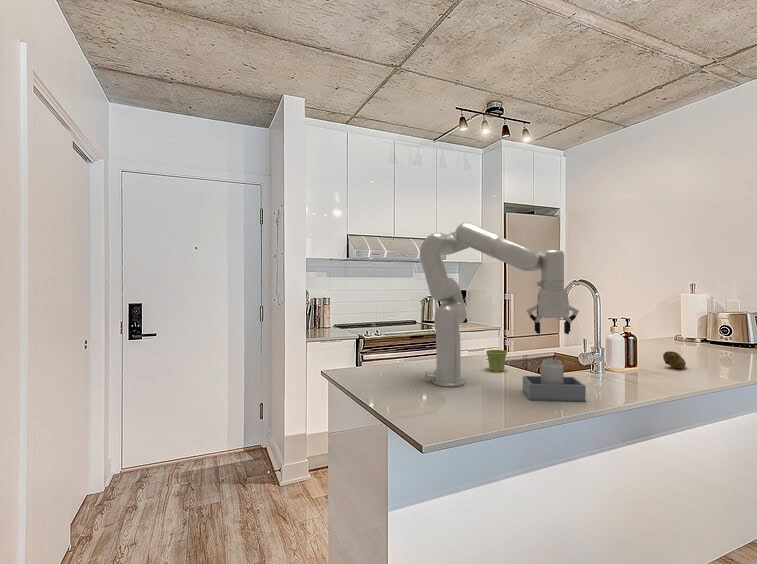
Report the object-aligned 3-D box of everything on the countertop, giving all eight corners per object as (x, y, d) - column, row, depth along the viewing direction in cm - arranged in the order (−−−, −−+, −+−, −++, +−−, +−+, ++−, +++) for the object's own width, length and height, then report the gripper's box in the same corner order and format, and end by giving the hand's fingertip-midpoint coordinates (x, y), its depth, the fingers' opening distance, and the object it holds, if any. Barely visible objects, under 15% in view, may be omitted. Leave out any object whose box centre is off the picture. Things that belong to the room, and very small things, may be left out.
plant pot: (485, 372, 184) (485, 352, 183) (486, 367, 193) (486, 349, 192) (507, 373, 181) (507, 353, 181) (507, 369, 190) (507, 350, 190)
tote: (530, 400, 143) (530, 384, 143) (522, 390, 155) (522, 375, 155) (585, 401, 141) (585, 385, 141) (573, 391, 153) (573, 376, 153)
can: (565, 397, 144) (565, 363, 143) (542, 396, 145) (542, 362, 145) (560, 391, 151) (560, 358, 151) (539, 390, 153) (539, 358, 152)
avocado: (694, 369, 186) (695, 351, 186) (673, 371, 182) (673, 353, 182) (676, 365, 194) (676, 348, 194) (655, 367, 190) (655, 350, 190)
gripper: (529, 285, 145) (529, 334, 145) (582, 285, 143) (581, 335, 143) (524, 284, 152) (524, 331, 153) (574, 284, 150) (574, 332, 150)
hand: (552, 333), depth 148 cm, fingers open, 9 cm apart
